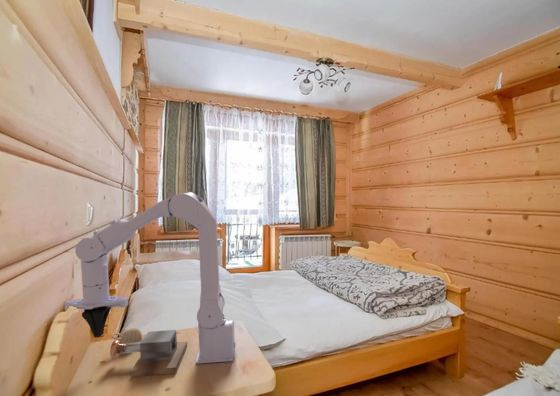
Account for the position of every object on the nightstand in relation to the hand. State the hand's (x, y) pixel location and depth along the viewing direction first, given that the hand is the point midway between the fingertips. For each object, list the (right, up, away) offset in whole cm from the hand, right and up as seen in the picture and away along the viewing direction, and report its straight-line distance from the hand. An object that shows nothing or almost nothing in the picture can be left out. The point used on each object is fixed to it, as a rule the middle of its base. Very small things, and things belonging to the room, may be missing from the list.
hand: (98, 335), depth 77 cm
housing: (+16, -7, +2) cm, 17 cm away
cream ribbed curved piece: (+3, -8, +9) cm, 12 cm away
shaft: (+9, -6, +1) cm, 11 cm away
